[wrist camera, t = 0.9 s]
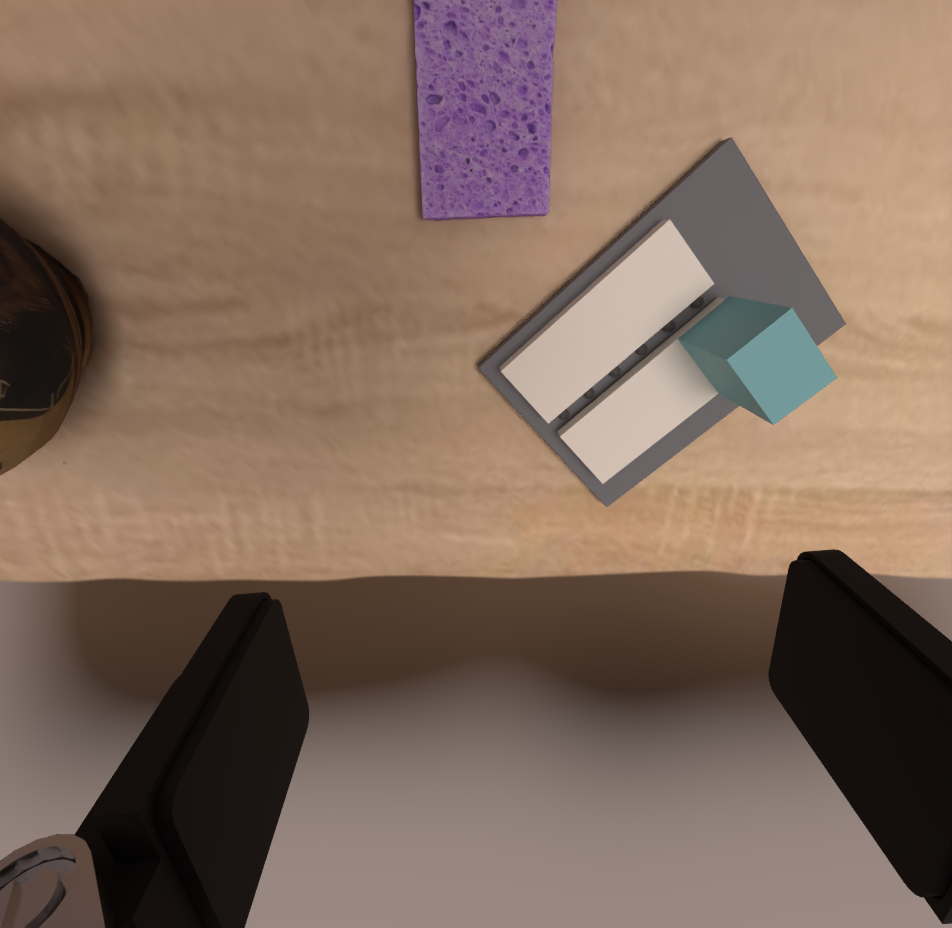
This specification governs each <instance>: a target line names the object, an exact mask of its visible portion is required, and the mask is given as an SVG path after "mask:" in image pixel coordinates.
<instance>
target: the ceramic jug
mask: <svg viewBox="0 0 952 928" xmlns="http://www.w3.org/2000/svg"><path fill="white" fill-rule="evenodd" d="M91 350H92V324H91V315H90V311H89V307H88V296H87V294H86V292H85V290H84V288H83V286H82V284H81V282H80V280H79V278H77V277H76V276H75V275H73V274H72V273H71V272H70V271H69V270H68V269H66V268H65V267H64V266H63V265H62V264H61V263H60V262H58V261H57V260H56V259H54V258H53V257H52V256H50V255H49V254H47V253H46V252H45V251H44V250H43V249H41V248H40V247H39V246H37V245H36V244H34V243H32V242H30V241H28V240H26V239H24V238H23V237H22V236H21V235H19V234H18V233H17V232H16V231H15V230H14V229H13V228H11V227H10V226H9V225H8V224H6V223H5V222H4V221H2V220H1V219H0V475H2V474H4V473H5V472H7V471H9V470H11V469H12V468H14V467H16V466H17V465H18V464H20V463H21V462H22V461H24V460H25V459H26V458H28V457H29V456H30V455H32V454H33V453H34V452H36V451H37V450H38V449H40V448H41V447H42V446H44V445H45V444H46V443H47V442H48V441H49V440H50V439H51V438H52V437H53V436H54V435H55V434H56V432H57V431H58V429H59V427H60V425H61V423H62V421H63V419H64V417H65V415H66V413H67V411H68V409H69V407H70V405H71V403H72V401H73V399H74V396H75V393H76V391H77V388H78V385H79V382H80V378H81V373H82V371H83V369H84V367H85V365H86V364H87V362H88V360H89V357H90V354H91ZM63 464H66V463H63Z"/></svg>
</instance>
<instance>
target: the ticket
mask: <svg viewBox="0 0 952 928" xmlns="http://www.w3.org/2000/svg"><path fill="white" fill-rule="evenodd" d="M712 285H714V282H713V281H712V279H711V278H710V277H709V275H708V274H707V272H706V271H705V269H704V268H703V266H702V265H701V264H700V262H699V261H698V259H697V258H696V256H695V255H694V253H693V252H692V250H691V249H690V248H689V246H688V245H687V243H686V242H685V240H684V239H683V237H682V236H681V235H680V233H679V232H678V230H677V229H676V227H675V226H674V224H673V223H672V222H671V220H670V219H668V220H662V221H661V222H659V223H658V224H657V225H656V226H655V227H654V228H653V229H652V230H651V231H649V232H648V233H647V234H646V235H645V236H644V237H643V238H642V239H641V240H639V241H638V242H637V243H636V244H635V245H634V246H633V247H632V248H631V249H630V250H628V251H627V252H626V253H625V254H624V255H623V256H622V257H621V258H620V259H618V260H617V261H616V262H615V263H614V264H613V265H612V266H611V267H610V268H608V269H607V270H606V271H605V272H604V273H603V274H602V275H601V276H600V277H598V278H597V279H596V280H595V281H594V282H593V283H592V284H591V285H590V286H589V287H587V288H586V289H585V290H584V291H583V292H582V293H581V294H580V295H579V296H577V297H576V298H575V299H574V300H573V301H572V302H571V303H570V304H569V305H567V306H566V307H565V308H564V309H563V310H562V311H561V312H560V313H559V314H557V315H556V316H555V317H554V318H553V319H552V320H551V321H550V322H549V323H548V324H546V325H545V326H544V327H543V328H542V329H541V330H540V331H539V332H538V333H536V334H535V335H534V336H533V337H532V338H531V339H530V340H529V341H528V342H526V343H525V344H524V345H523V346H522V347H521V348H520V349H519V350H518V351H516V352H515V353H514V354H513V355H512V356H511V357H510V358H509V359H508V360H507V361H505V362H504V363H503V364H502V365H501V366H500V367H499V368H500V371H501V372H502V373H503V375H504V376H505V377H506V378H507V379H508V380H509V381H510V382H511V383H512V384H513V386H514V387H515V388H516V389H517V390H518V391H519V392H520V393H521V394H522V395H523V397H524V398H525V399H526V400H527V401H528V402H529V403H530V404H531V405H532V406H533V408H534V409H535V410H536V411H537V412H538V413H539V414H540V415H541V416H542V417H543V419H544V420H545V421H546V422H547V423H548V424H549V423H550V422H551V421H552V420H553V419H555V418H556V417H557V416H558V417H559V419H561V420H567V419H568V418H569V412H568V410H567V409H566V408H568V407H569V406H570V405H571V404H572V403H574V402H575V401H576V400H577V399H578V398H579V397H581V396H582V395H583V396H584V397H585V398H586V399H592V398H593V397H594V395H595V392H594V390H593V389H592V388H591V387H592V386H594V385H595V384H596V383H597V382H598V381H600V380H601V379H602V378H603V377H604V376H606V375H607V374H608V373H609V375H610V376H611V377H613V378H616V377H618V376H619V375H620V373H621V369H620V368H619V367H618V366H617V365H619V364H620V363H621V362H622V361H623V360H625V359H626V358H627V357H628V356H629V355H630V354H632V353H633V352H634V351H635V352H636V353H637V354H638V355H644V354H646V352H647V350H648V347H647V345H646V344H644V343H645V342H646V341H647V340H648V339H649V338H651V337H652V336H653V335H654V334H655V333H657V332H658V331H659V330H660V329H661V328H662V329H663V330H664V331H666V332H672V331H673V330H674V329H675V322H674V321H672V319H673V318H674V317H676V316H677V315H678V314H679V313H680V312H681V311H683V310H684V309H685V308H686V307H687V306H689V305H691V307H693V308H696V309H698V308H700V307H702V306H703V304H704V299H703V297H701V296H700V295H702V294H703V293H704V292H705V291H706V290H708V289H709V288H710V287H711V286H712Z"/></svg>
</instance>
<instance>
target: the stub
mask: <svg viewBox="0 0 952 928" xmlns="http://www.w3.org/2000/svg"><path fill="white" fill-rule="evenodd" d="M836 378H837V376H836V375H835V373H834V372H833V370H832V369H831V367H830V366H829V364H828V363H827V361H826V359H825V358H824V356H823V355H822V353H821V352H820V350H819V349H818V347H817V346H816V344H815V342H814V341H813V339H812V338H811V336H810V335H809V333H808V332H807V330H806V328H805V327H804V325H803V324H802V322H801V321H800V319H799V318H798V316H797V315H796V313H795V311H794V310H793V308H790V307H785V306H780V305H775V304H769V303H764V302H759V301H754V300H748V299H743V298H738V297H733V296H729V297H728V298H726V299H723V298H716V299H715V300H714V301H713V302H712V303H710V304H709V305H708V306H707V307H706V308H704V309H703V310H702V311H701V312H700V313H698V314H697V315H696V316H695V317H694V318H692V319H691V320H690V321H689V322H688V323H686V324H685V325H684V326H683V327H682V328H680V329H679V330H678V331H677V332H676V333H674V334H673V335H672V336H671V337H670V338H668V339H667V340H666V341H665V342H664V343H662V344H661V345H660V346H659V347H658V348H656V349H655V350H654V351H653V352H652V353H650V354H649V355H648V356H647V357H646V358H644V359H643V360H642V361H641V362H640V363H638V364H637V365H636V366H635V367H634V368H632V369H631V370H630V371H629V372H628V373H626V374H625V375H624V376H623V377H622V378H620V379H619V380H618V381H617V382H616V383H614V384H613V385H612V386H611V387H610V388H608V389H607V390H606V391H605V392H604V393H602V394H601V395H600V396H599V397H598V398H596V399H595V400H594V401H593V402H592V403H591V404H589V405H588V406H587V407H586V408H585V409H583V410H582V411H581V412H580V413H579V414H577V415H576V416H575V417H574V418H573V419H571V420H570V421H569V422H568V423H567V424H565V425H564V426H563V427H562V428H561V429H559V430H558V431H557V432H558V434H559V436H560V437H561V439H562V440H563V441H564V442H565V443H566V444H567V445H568V446H569V447H570V448H571V450H572V451H573V452H574V453H575V454H576V455H577V456H578V457H579V458H580V459H581V461H582V462H583V463H584V464H585V465H586V466H587V467H588V468H589V469H590V470H591V472H592V473H593V474H594V475H595V476H596V477H597V478H598V479H599V480H600V481H601V483H602V484H604V483H605V482H606V481H607V480H609V479H610V478H611V477H612V476H614V475H615V474H616V473H618V472H619V471H620V470H621V469H623V468H624V467H625V466H627V465H628V464H629V463H630V462H632V461H633V460H634V459H635V458H637V457H638V456H639V455H641V454H642V453H643V452H644V451H646V450H647V449H648V448H650V447H651V446H652V445H653V444H655V443H656V442H657V441H658V440H660V439H661V438H662V437H664V436H665V435H666V434H667V433H669V432H670V431H671V430H673V429H674V428H675V427H676V426H678V425H679V424H680V423H682V422H683V421H684V420H685V419H687V418H688V417H689V416H690V415H692V414H693V413H694V412H696V411H697V410H698V409H699V408H701V407H702V406H703V405H705V404H706V403H707V402H708V401H710V400H711V399H712V398H713V397H715V396H716V395H717V394H720V395H722V396H724V397H726V398H727V399H729V400H731V401H733V402H734V403H736V404H738V405H740V406H741V407H743V408H745V409H746V410H748V411H750V412H752V413H753V414H755V415H757V416H759V417H760V418H762V419H764V420H766V421H767V422H769V423H771V424H773V425H774V424H776V423H777V422H779V421H780V420H781V419H783V418H784V417H785V416H787V415H788V414H789V413H791V412H792V411H793V410H795V409H796V408H797V407H799V406H800V405H801V404H803V403H804V402H805V401H807V400H808V399H809V398H811V397H812V396H814V395H815V394H816V393H818V392H819V391H820V390H822V389H823V388H824V387H826V386H827V385H828V384H830V383H831V382H832V381H834V380H835V379H836Z"/></svg>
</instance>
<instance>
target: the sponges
mask: <svg viewBox="0 0 952 928" xmlns="http://www.w3.org/2000/svg"><path fill="white" fill-rule="evenodd" d="M413 2H414V18H415V20H414V34H415V58H416V75H417V77H416V81H417V103H418V123H419V152H420V173H421V192H422V214H423V219H424V220H436V221H440V220H451V219H475V218H492V217H517V216H545V215H546V214H548V213H549V206H548V203H549V191H550V159H551V142H550V141H551V105H552V87H553V64H554V62H553V46H554V42H555V39H554V37H555V24H556V9H557V0H413Z"/></svg>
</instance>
